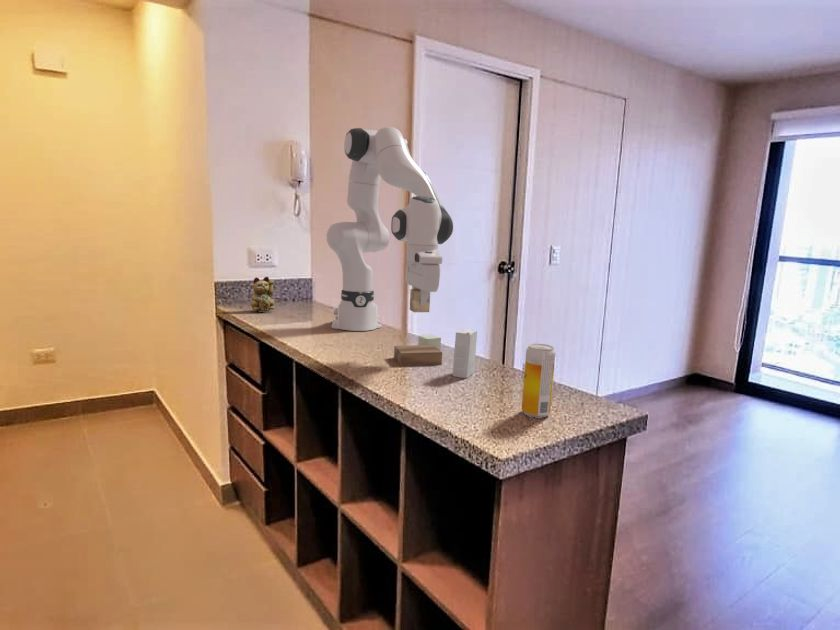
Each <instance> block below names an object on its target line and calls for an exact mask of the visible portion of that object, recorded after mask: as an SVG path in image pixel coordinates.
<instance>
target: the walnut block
mask: <svg viewBox="0 0 840 630" xmlns="http://www.w3.org/2000/svg"><path fill="white" fill-rule="evenodd" d="M393 359H395V361H396V362H397V363H398V364H399V365H400V366H402V367H404V366H405V367H407V366H409V367H410V366H434V365H436V366H438V365H439V366H440V365H442V364H443V362H442V361H443V352H442V350H441V349H440V350H439V349H438V348H436V347H435V346H434V345H417V344H416V345H394V346H393Z"/></svg>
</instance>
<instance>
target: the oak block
mask: <svg viewBox="0 0 840 630" xmlns="http://www.w3.org/2000/svg"><path fill="white" fill-rule="evenodd" d="M409 291H410V292H409V294H410V295H409V310H410V311H411V312H413V313H430V307H431V306H430V304H431V292H429V296H428V299H427V305H426V306H422V305H420V304H419V302H420V301H419V300H420V298H421V290H420V289H412V288H411V289H410V290H409Z"/></svg>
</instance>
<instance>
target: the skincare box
mask: <svg viewBox="0 0 840 630" xmlns="http://www.w3.org/2000/svg"><path fill="white" fill-rule="evenodd" d="M477 338H478V330H477V329H468V328H462V329H460V330H458V331H456V332H455V341H454V350H453V351H454V353H453V364H452V365H453V367H452V377H456V378H461V379H468V378H469V377H470V376H472V375H473V374H474V373H475V367H476V366H475V364H476V353H477V352H476V351H477V341H478V340H477Z"/></svg>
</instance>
